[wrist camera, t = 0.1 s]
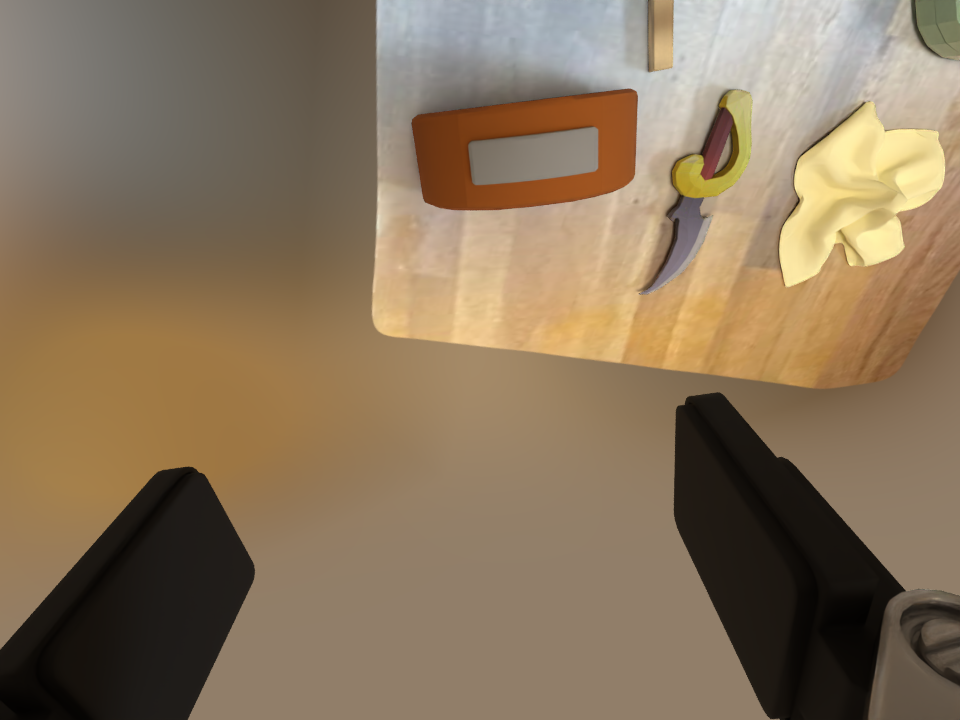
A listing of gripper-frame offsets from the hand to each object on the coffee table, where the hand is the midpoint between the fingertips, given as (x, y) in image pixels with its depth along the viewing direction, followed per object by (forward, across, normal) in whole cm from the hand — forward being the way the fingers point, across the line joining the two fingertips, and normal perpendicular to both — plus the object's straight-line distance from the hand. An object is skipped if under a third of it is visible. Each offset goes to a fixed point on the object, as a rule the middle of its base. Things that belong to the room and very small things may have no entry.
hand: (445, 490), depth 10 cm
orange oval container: (+56, -6, -2) cm, 56 cm away
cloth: (+56, -46, +12) cm, 73 cm away
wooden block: (+56, -22, -12) cm, 61 cm away
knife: (+56, -26, +8) cm, 62 cm away
